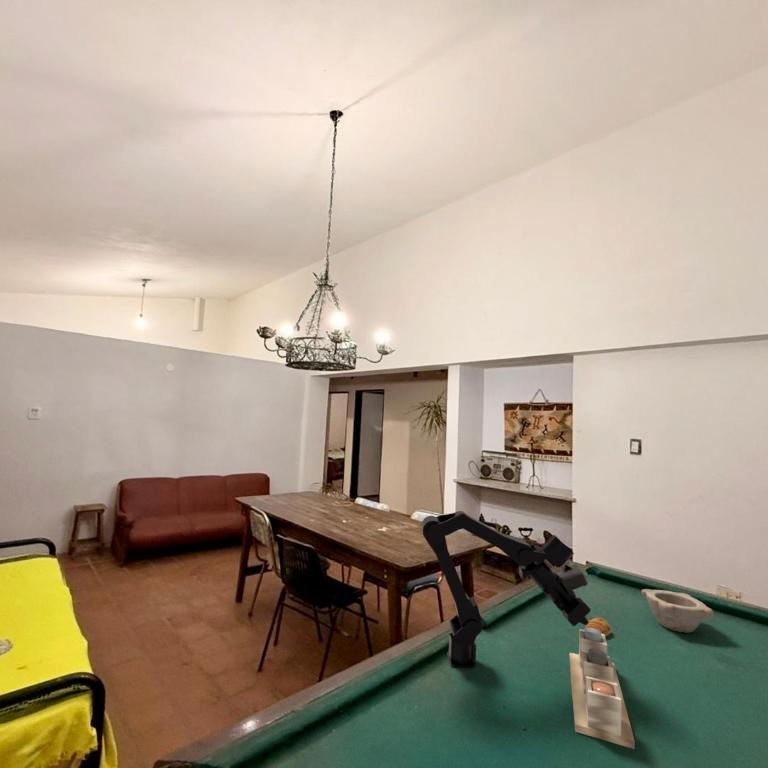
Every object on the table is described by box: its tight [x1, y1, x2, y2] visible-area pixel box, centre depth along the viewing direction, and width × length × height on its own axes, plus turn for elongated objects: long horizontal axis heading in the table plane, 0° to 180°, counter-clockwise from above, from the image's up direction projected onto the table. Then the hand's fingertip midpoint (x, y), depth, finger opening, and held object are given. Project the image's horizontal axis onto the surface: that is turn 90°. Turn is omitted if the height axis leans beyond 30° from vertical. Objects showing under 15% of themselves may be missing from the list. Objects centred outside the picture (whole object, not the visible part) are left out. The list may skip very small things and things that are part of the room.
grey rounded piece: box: [588, 649, 608, 666], centre depth 103 cm, size 4×4×4 cm
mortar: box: [641, 588, 714, 634], centre depth 142 cm, size 17×17×9 cm
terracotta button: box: [593, 682, 613, 696], centre depth 92 cm, size 4×4×4 cm
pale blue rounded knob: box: [584, 627, 601, 642], centre depth 114 cm, size 4×4×4 cm
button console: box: [569, 629, 636, 750], centre depth 103 cm, size 11×31×8 cm, turn 158°
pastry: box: [584, 617, 613, 638], centre depth 134 cm, size 9×7×4 cm
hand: (586, 623), depth 114 cm, fingers closed
